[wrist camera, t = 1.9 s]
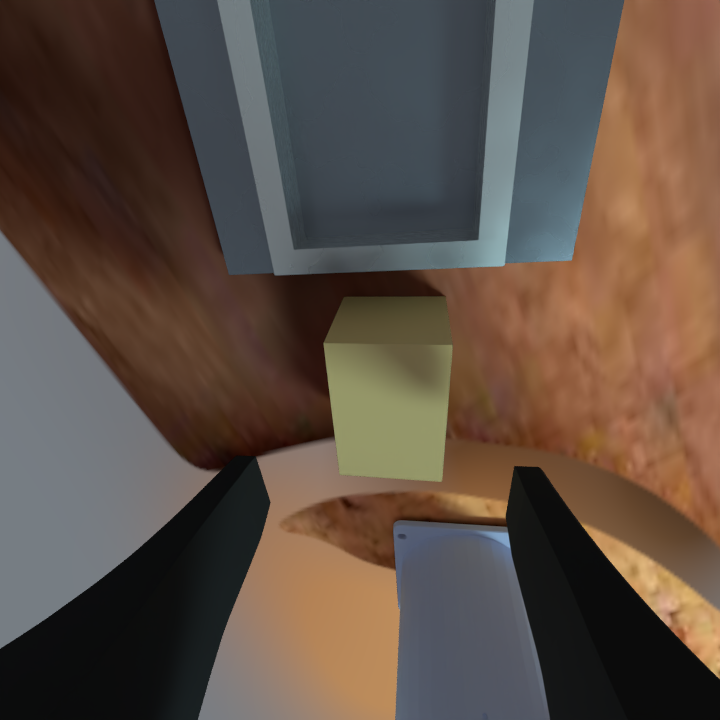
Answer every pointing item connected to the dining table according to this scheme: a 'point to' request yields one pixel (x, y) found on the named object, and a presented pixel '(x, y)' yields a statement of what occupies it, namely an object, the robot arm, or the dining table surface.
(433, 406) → the block
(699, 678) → the robot arm
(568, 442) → the dining table surface
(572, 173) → the plate
